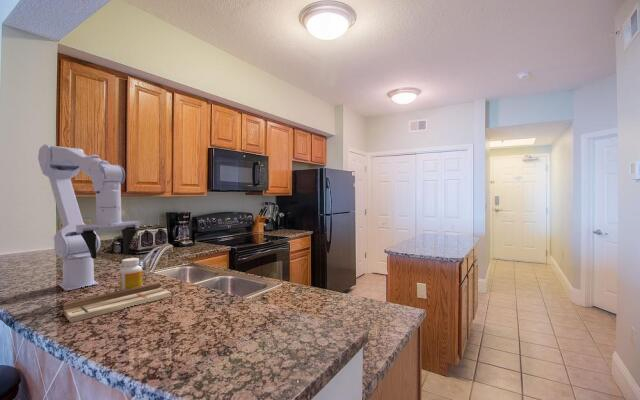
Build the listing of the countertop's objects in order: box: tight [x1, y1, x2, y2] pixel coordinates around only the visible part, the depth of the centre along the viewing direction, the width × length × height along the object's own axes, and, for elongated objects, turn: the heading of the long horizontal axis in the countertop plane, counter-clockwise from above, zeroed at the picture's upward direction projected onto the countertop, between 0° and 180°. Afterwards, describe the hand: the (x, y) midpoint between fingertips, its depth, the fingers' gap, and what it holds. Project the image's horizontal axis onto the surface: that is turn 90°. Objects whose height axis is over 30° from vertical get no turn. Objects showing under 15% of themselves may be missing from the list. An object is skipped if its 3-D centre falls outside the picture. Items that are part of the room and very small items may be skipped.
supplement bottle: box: [118, 257, 143, 291], centre depth 83 cm, size 5×5×10 cm
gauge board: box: [62, 281, 172, 323], centre depth 76 cm, size 8×21×2 cm, turn 140°
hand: (110, 255), depth 85 cm, fingers open, 7 cm apart
